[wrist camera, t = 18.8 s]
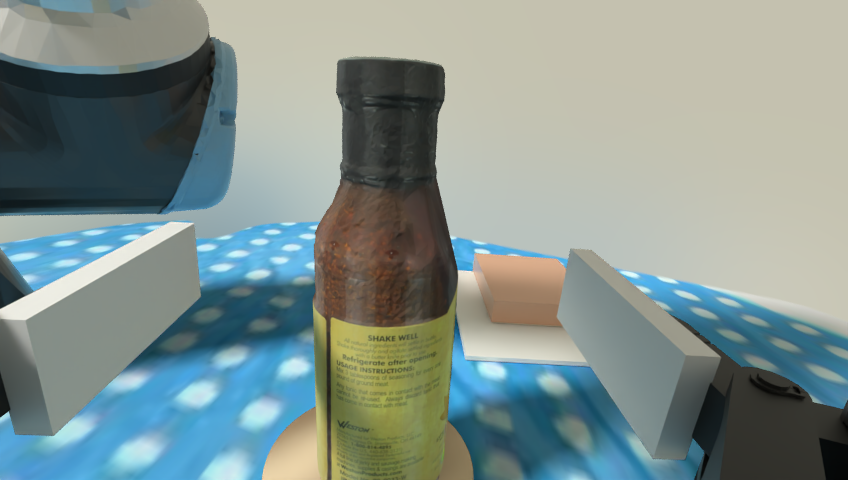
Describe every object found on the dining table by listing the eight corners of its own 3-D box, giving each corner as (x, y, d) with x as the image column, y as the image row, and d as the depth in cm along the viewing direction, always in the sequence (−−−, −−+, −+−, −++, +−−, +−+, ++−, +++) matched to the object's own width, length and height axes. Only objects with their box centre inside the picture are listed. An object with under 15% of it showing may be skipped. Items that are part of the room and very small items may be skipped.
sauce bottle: (464, 484, 22) (525, 72, 15) (369, 572, 17) (400, 46, 11) (382, 415, 26) (404, 69, 20) (288, 471, 22) (278, 50, 15)
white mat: (656, 370, 35) (657, 366, 35) (465, 359, 34) (465, 355, 34) (576, 281, 52) (576, 278, 52) (447, 272, 51) (447, 269, 51)
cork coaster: (212, 504, 21) (211, 488, 20) (351, 384, 30) (352, 372, 30) (405, 645, 16) (407, 628, 16) (499, 451, 25) (501, 438, 25)
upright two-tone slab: (600, 307, 39) (556, 258, 51) (494, 300, 38) (474, 253, 50) (595, 330, 40) (553, 277, 51) (490, 323, 39) (472, 271, 51)
